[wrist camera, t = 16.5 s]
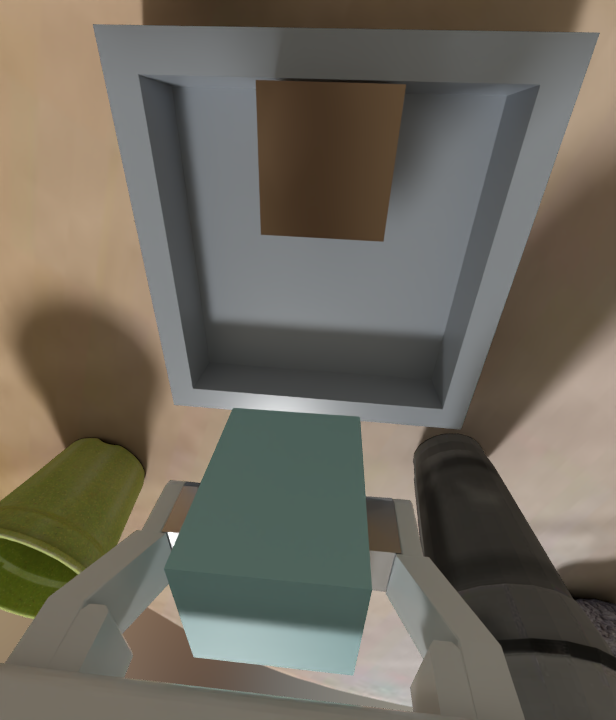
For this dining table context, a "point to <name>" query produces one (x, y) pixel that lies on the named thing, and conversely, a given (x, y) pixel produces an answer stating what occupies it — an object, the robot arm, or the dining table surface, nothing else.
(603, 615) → the pumice stone
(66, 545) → the plant pot
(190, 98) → the tray
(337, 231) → the walnut block
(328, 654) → the teal block
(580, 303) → the dining table surface
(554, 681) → the beverage cup
